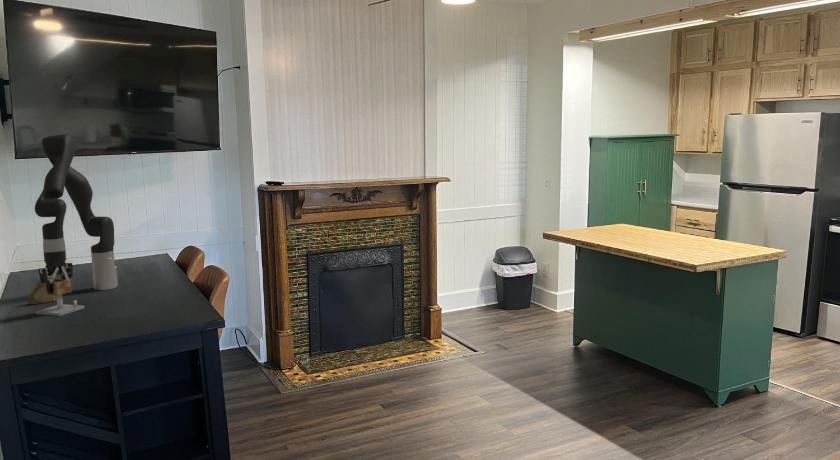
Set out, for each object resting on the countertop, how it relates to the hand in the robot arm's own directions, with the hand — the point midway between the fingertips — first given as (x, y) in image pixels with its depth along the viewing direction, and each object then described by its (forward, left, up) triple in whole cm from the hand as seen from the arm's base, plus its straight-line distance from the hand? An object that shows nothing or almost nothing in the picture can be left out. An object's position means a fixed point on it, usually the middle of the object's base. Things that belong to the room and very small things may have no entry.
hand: (58, 291), depth 248 cm
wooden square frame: (0, 0, -1) cm, 1 cm away
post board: (0, 0, -8) cm, 8 cm away
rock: (-10, -20, -8) cm, 24 cm away
